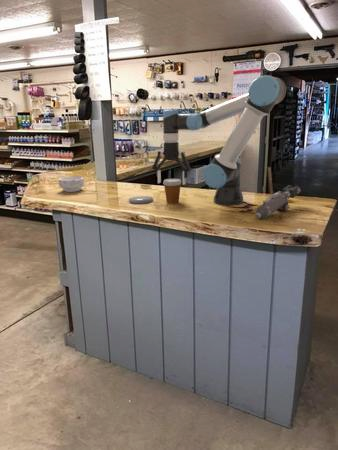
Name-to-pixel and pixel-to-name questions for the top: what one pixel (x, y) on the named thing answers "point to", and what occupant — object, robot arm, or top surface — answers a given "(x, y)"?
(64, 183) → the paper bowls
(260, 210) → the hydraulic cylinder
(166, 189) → the disposable coffee cup
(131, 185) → the top surface
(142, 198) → the slate dish
